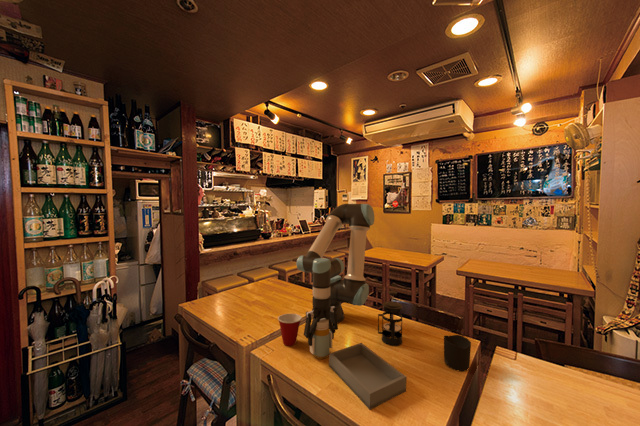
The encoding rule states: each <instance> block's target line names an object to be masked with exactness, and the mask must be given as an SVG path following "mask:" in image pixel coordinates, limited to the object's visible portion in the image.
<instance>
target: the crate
mask: <svg viewBox="0 0 640 426" xmlns="http://www.w3.org/2000/svg"><path fill="white" fill-rule="evenodd" d="M328 366H329V368H330V369H331V370H332V372H334V373H335V374H336V375H337V376H338V377H339V379H340V380H342V382H343V383H344V384H345V385H346V386H347V387H348V388H349V390H351V392H353V393H354V395H356V397H357V398H358V399H359V400H360V401H361V402H362V403H363V405H364V406H365V407H366V408H367V409H369V410H372V409H375V408H376V407H378V406H380V405H382V404H384V403H386V402H388V401H390V400H392V399H393V398H396V397H397V396H399V395H401V394H403V393H405V392H407V376H406V375H405V374H403V372H401V371H399V370H398V369H397V368H396V367H394V366H393V365H391V364H390V363H389V362H387V361H386V360H385V359H384V358H382V357H381V356H380V355H378V354H377V353H375V352H374V351H373V350H371V348H369V347H368V346H367V345H366V344H364V343H363V342H360V343H357V344H356V343H355V344H354V345H351V346H348V347H345V348H341V349H338V350H336V351H332V352H329V356H328Z"/></svg>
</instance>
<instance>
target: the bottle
mask: <svg viewBox="0 0 640 426" xmlns="http://www.w3.org/2000/svg"><path fill="white" fill-rule="evenodd" d="M313 337H314V338H315V342H314V354H312V355H313V356H314V357H315V358H316V359H317V360H325V359H326V358H329V353H330V349H331V348H330V330H329V320H327V319H326V318H322V319H320V321H319V322H317V327H316V330H315V332H314V335H313Z"/></svg>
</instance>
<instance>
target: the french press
mask: <svg viewBox="0 0 640 426" xmlns="http://www.w3.org/2000/svg"><path fill="white" fill-rule="evenodd" d="M387 293H388V294H389V295H391V301H390V300H388V301H387V300H386V301H384V302H383V303H382V306H383V309H382V310H384V312H382V313H378V314H377V334H379V335H381V342H382V343H383V344H385V345H387V346H391V347H399V346H402V344H403V315H402V314H401V313H400V312H401V310H402V309H403V308H404V306H403V304H402V303H400V302H398V301H394V296H395V295H398V292H397V291H394V290H389V291H387ZM386 315H389V318H388V317H386ZM394 315H395V316H398V317H400V318H398V319H397V318H395V319H394ZM380 317H382V318H381V319H382V321H381V323H382V325H381V331H379V330H380ZM384 321H386V322H385V323H384ZM398 323H401V325H399V324H398Z"/></svg>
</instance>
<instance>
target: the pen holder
mask: <svg viewBox="0 0 640 426" xmlns="http://www.w3.org/2000/svg"><path fill="white" fill-rule="evenodd" d="M471 345H472V342H471V341H470V340H469V339H468V338H467V337H465V336H462V335H460V334H454V335H447V334H446V335H444V336H443V359H444V360H443V361H444V363H445V365H446V366H447V367H448V366H449V367H448V368H450V369H452V370H454V369H455V371H457V370H459V371H458V372H465V371H464V370H466V371H468V370H469V369H470V365H471V364H470V361H471V348H472V347H471ZM468 368H469V369H468ZM467 369H468V370H467Z"/></svg>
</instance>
